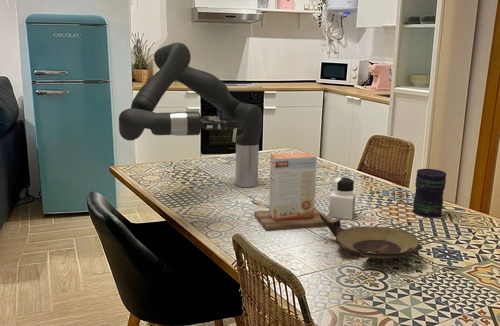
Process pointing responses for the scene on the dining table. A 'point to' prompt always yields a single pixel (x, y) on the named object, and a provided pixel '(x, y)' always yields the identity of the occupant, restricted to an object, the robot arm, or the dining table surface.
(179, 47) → the robot arm
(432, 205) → the storage jar
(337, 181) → the container
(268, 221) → the walnut board
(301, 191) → the cracker box
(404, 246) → the oil lamp
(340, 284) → the dining table surface
